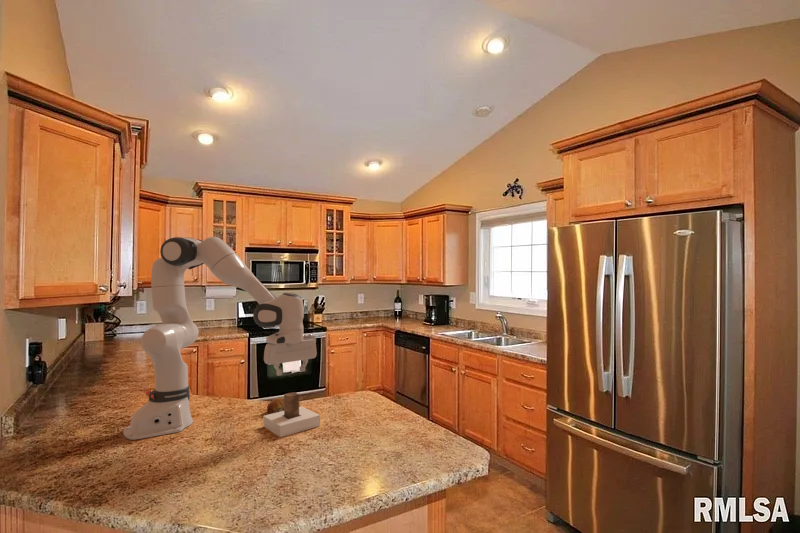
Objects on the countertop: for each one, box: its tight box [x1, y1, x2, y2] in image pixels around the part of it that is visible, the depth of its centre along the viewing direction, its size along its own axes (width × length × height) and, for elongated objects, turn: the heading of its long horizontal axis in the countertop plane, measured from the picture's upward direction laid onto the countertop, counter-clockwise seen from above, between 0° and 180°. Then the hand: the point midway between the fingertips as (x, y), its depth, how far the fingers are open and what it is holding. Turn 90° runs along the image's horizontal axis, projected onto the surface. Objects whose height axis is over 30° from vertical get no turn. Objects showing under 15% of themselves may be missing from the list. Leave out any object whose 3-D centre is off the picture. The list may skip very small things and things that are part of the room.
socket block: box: [262, 406, 321, 438], centre depth 158 cm, size 16×14×4 cm
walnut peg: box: [283, 391, 300, 419], centre depth 158 cm, size 4×4×12 cm
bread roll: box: [266, 396, 284, 415], centre depth 173 cm, size 10×10×8 cm
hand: (291, 373), depth 158 cm, fingers open, 8 cm apart
